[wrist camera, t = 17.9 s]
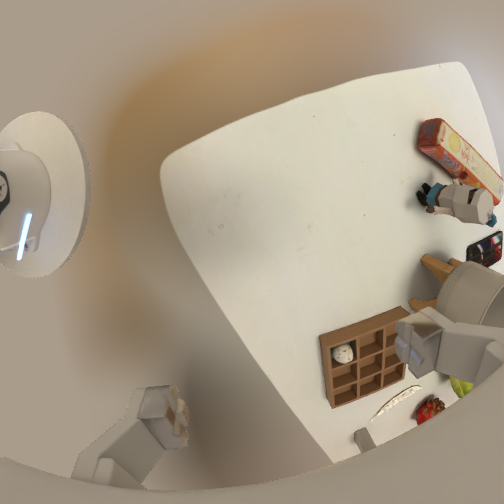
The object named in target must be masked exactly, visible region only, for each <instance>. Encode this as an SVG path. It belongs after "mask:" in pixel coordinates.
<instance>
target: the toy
mask: <svg viewBox="0 0 504 504" xmlns="http://www.w3.org/2000/svg"><path fill="white" fill-rule="evenodd" d="M451 176H452V178H453V184H451V185H444V186H443V185H441V184H439V183H436V184H435V185H434V186H433V187H432V188H431V187H430V186H429V185H428V184H427V183H424V184H423V185H422V187H423V189H424V192H425V193H426V195H427V196H426V195H425V194H423V193H422V192H421V191H419V190H418V192H417V193H416V195H417V197H418V200H419V201H420V202H421V204H422V205H423V206H427V209H426V212H428V213H433V212H434V214H435V215H436V214H448V215H451V216H453V217H457V218H458V219H459V220H460V221H461V222H464V223H476V224H482V225H484V224H486V225H488V226H490V227H493V226H494V225H495V224H496V222H497V220H496V216H495V215H494V214H493V209H494V205H493V197H492V195H491V194H490V193H489V192H488V190H487V189H483V188H476V187H473V186H469V185H465V184H464V185H460V184H459V180H458V179H457V178H456V176H455V175H454V173H452V174H451ZM490 218H491V220H490Z"/></svg>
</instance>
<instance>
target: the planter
mask: <svg viewBox="0 0 504 504" xmlns="http://www.w3.org/2000/svg"><path fill="white" fill-rule="evenodd" d="M420 260H421V262H422V265H424V266H426V267H427V268H428V269H430V270H431V271H432V272H433V273H434V274H435V275H436V277H437V278H438V279H439V280H440V282H441V283H442V287H441V289H440V291H439V294H438V297H437V298H435V299H432V300H428V301H419V300H416V299H414V298H413V299H412V300H411V301H410V302H409V305H410V307H411V308H412V309H413V310H414V311H416V312H418V311H420V310H422V309H424V308H426V307H432V308H433V309H435V310H436V311H438V312H439V313H440V314H442V315H443V316H445V317H446V318H448V319H449V320H450V321H452V322H453V323H457V322H461V323H468V324H476V325H484V326H492V327H500V328H504V275H502V274H500V273H498V272H496V271H494V270H491V269H489V268H487V267H485V266H482V265H480V264H478V263H475V262H473V261H466V262H460V261H458V260H456V259H453V258H452V259H451V260H450V261H449V264H447V263H444V262H442V261H440V260H438V259H436V258H433V257H431V256H429V255H426V254H425V255H424V256H423V257H422V258H421V259H420Z"/></svg>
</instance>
